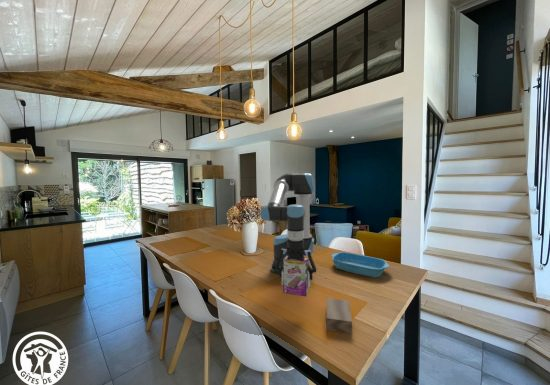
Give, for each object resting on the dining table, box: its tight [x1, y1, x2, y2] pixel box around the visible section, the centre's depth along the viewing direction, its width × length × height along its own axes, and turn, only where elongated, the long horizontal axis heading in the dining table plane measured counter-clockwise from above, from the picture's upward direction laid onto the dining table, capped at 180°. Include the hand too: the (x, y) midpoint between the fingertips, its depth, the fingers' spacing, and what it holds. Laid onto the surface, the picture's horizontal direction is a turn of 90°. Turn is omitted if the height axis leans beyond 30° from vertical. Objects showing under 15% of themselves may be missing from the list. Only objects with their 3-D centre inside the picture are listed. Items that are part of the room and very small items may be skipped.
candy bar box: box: [282, 256, 310, 297], centre depth 107 cm, size 11×5×16 cm, turn 71°
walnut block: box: [325, 297, 353, 335], centre depth 101 cm, size 10×16×5 cm, turn 166°
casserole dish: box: [331, 251, 390, 278], centre depth 156 cm, size 37×22×7 cm, turn 55°
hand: (295, 285), depth 107 cm, fingers closed on candy bar box, 11 cm apart
